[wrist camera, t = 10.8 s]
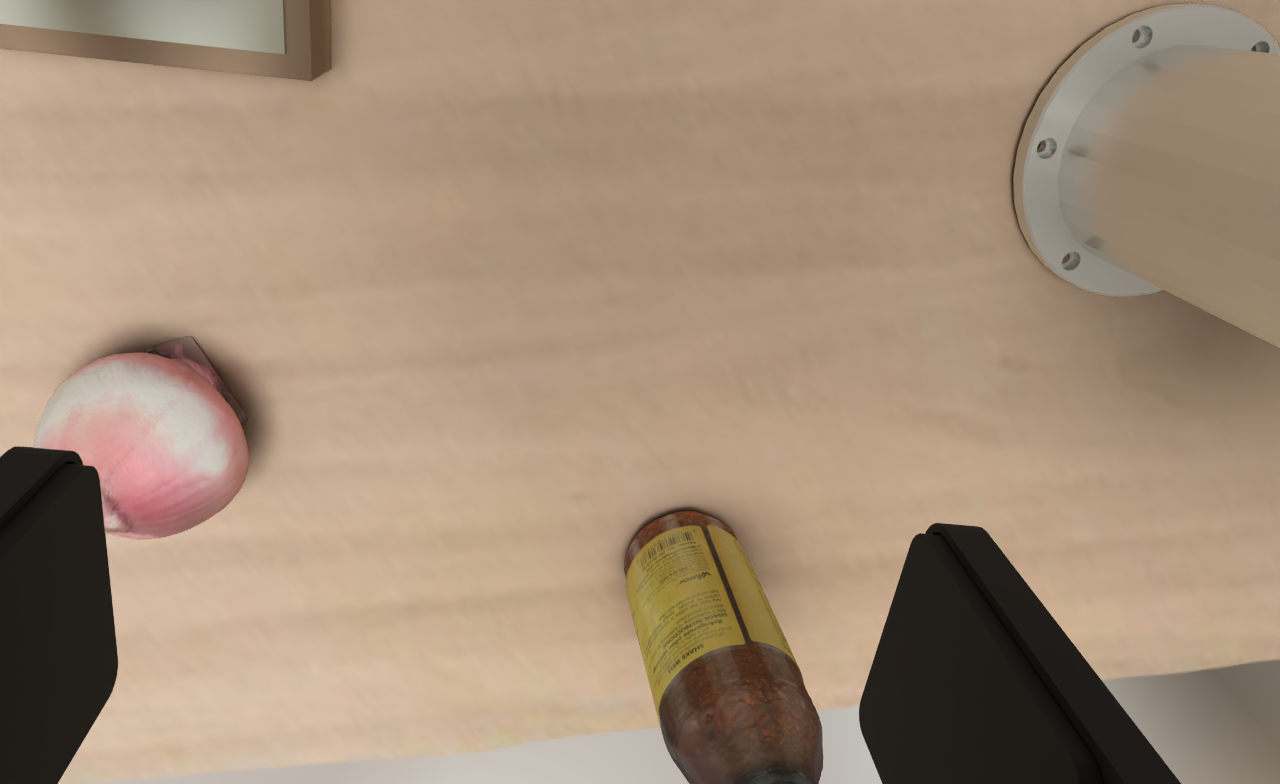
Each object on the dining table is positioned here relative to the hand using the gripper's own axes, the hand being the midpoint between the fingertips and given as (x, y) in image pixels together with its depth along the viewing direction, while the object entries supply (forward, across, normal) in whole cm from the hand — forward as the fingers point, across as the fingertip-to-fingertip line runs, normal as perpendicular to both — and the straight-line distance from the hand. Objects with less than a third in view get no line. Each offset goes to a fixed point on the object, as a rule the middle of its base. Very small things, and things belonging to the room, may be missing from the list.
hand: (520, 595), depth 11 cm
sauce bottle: (+30, -9, +20) cm, 37 cm away
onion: (+30, +15, +13) cm, 36 cm away
